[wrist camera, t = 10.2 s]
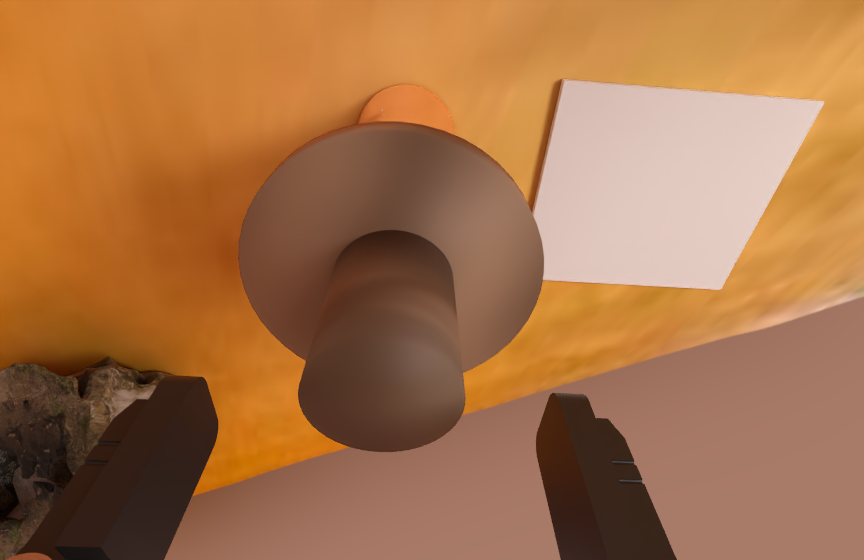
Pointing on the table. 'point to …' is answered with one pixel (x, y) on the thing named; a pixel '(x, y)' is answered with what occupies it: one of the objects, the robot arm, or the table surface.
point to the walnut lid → (390, 276)
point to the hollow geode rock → (54, 435)
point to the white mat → (660, 180)
